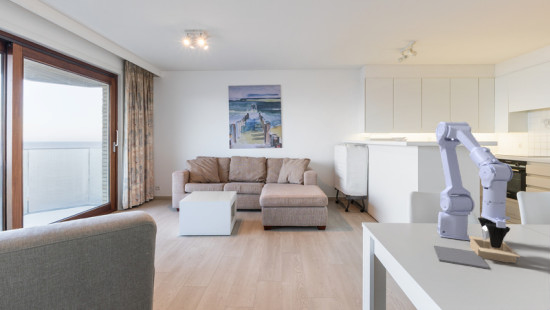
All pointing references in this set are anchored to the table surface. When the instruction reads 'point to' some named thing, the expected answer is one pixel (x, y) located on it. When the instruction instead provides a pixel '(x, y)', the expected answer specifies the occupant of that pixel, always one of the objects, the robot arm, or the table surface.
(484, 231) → the milkshake
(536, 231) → the table surface
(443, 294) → the table surface
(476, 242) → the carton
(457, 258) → the mat
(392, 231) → the table surface
